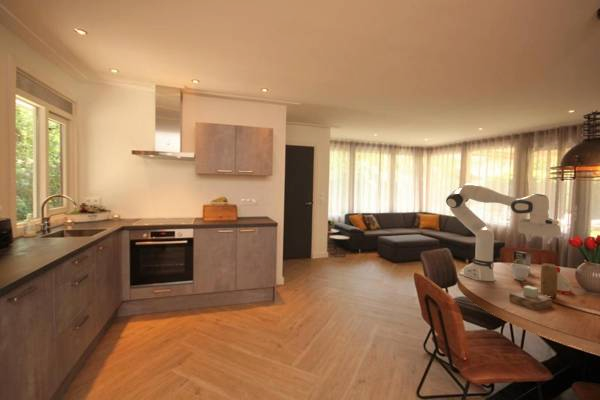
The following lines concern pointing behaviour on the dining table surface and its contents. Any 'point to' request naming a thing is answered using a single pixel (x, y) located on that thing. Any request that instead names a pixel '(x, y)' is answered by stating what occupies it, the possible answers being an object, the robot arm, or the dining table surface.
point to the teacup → (520, 271)
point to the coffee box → (522, 258)
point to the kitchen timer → (562, 283)
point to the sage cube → (530, 291)
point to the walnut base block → (531, 300)
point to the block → (549, 279)
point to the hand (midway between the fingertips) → (538, 242)
